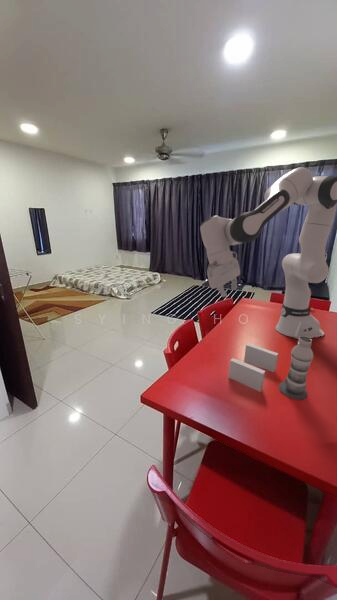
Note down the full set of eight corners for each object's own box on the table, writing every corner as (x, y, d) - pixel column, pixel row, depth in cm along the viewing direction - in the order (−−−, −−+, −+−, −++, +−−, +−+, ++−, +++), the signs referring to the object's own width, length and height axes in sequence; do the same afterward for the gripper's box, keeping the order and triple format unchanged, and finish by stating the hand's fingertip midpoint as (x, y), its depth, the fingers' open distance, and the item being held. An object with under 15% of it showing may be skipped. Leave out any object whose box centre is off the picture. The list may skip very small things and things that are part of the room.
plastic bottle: (301, 384, 86) (313, 335, 79) (306, 398, 80) (320, 345, 73) (282, 382, 88) (292, 333, 81) (285, 395, 82) (297, 343, 75)
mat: (297, 381, 89) (297, 380, 89) (313, 399, 80) (313, 398, 80) (274, 382, 88) (274, 381, 88) (287, 400, 80) (287, 400, 79)
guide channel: (228, 377, 91) (230, 360, 88) (246, 358, 102) (248, 343, 99) (260, 391, 83) (263, 373, 81) (275, 369, 95) (278, 353, 92)
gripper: (214, 263, 85) (225, 300, 87) (238, 252, 99) (247, 284, 102) (199, 267, 89) (210, 302, 91) (224, 256, 104) (233, 286, 106)
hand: (229, 292), depth 96 cm, fingers open, 8 cm apart
